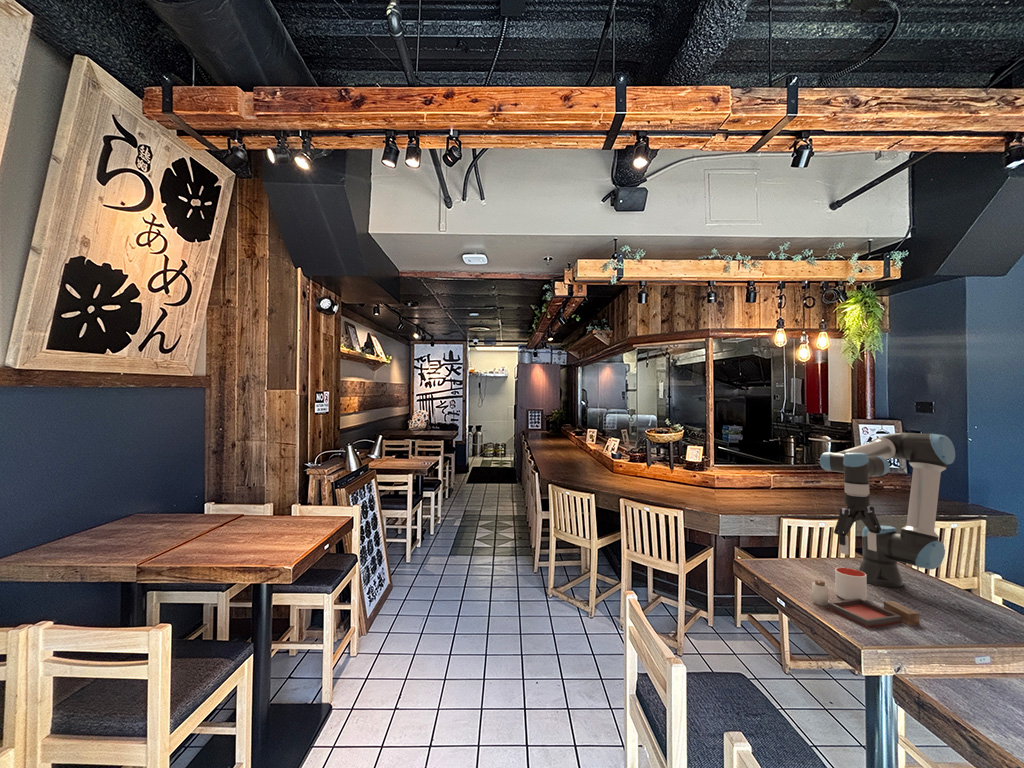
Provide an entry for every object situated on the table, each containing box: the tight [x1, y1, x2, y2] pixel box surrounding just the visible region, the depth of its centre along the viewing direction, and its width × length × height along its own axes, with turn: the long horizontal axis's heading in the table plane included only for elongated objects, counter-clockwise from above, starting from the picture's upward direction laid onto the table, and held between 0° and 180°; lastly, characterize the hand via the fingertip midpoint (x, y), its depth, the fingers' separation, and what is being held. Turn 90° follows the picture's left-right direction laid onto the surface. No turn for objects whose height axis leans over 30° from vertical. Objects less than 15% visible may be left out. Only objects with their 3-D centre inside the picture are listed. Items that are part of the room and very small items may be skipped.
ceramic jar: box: [811, 579, 829, 607], centre depth 179 cm, size 5×5×8 cm
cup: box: [834, 567, 868, 601], centre depth 184 cm, size 10×10×10 cm
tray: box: [827, 599, 903, 629], centre depth 169 cm, size 15×15×2 cm
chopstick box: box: [883, 600, 921, 626], centre depth 167 cm, size 4×10×4 cm, turn 3°
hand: (858, 552), depth 175 cm, fingers open, 13 cm apart
